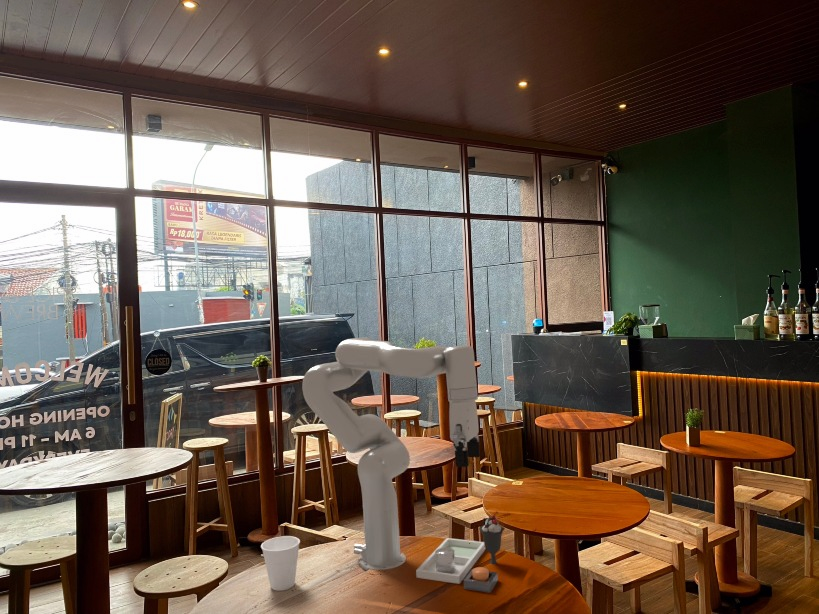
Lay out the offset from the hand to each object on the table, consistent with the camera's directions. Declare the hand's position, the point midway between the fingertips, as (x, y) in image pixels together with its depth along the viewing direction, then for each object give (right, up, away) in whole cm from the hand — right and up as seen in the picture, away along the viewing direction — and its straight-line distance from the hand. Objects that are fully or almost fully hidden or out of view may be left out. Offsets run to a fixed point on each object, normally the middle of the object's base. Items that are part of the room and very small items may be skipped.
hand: (468, 461), depth 150 cm
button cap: (+3, -28, -5) cm, 29 cm away
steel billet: (-6, -30, +4) cm, 30 cm away
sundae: (+8, -30, +7) cm, 32 cm away
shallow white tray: (-3, -30, +9) cm, 32 cm away
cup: (-48, -33, +2) cm, 58 cm away
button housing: (+3, -30, -5) cm, 30 cm away
